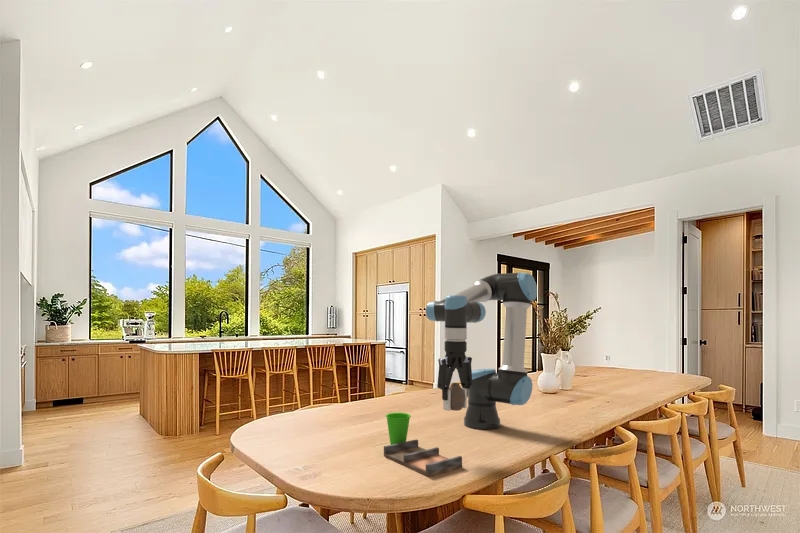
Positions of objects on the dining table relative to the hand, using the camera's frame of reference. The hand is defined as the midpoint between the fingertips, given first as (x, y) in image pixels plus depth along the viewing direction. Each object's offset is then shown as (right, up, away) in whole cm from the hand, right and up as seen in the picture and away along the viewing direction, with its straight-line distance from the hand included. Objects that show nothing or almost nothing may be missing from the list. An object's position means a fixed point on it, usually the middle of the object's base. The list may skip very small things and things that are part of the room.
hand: (455, 408), depth 161 cm
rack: (-12, -15, -7) cm, 20 cm away
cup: (-19, -16, +8) cm, 27 cm away
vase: (0, 0, 0) cm, 1 cm away
